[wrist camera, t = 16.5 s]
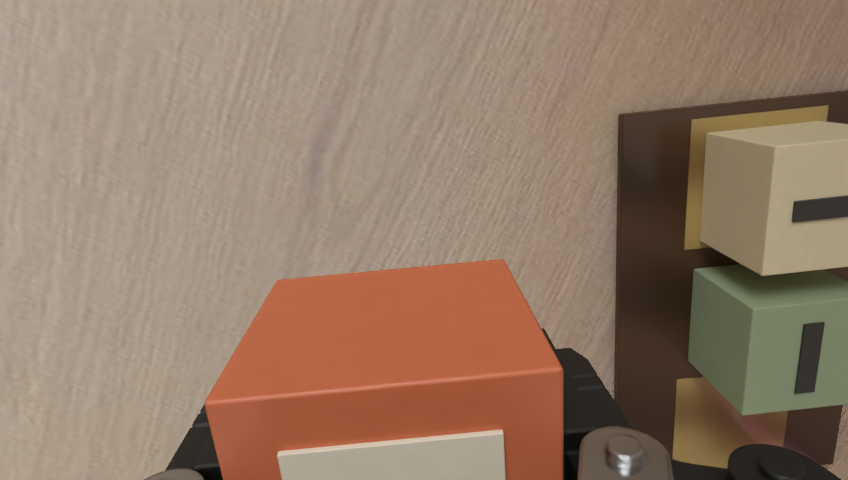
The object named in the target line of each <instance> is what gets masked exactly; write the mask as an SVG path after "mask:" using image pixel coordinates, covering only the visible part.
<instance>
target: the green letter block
mask: <svg viewBox="0 0 848 480" xmlns="http://www.w3.org/2000/svg"><path fill="white" fill-rule="evenodd" d="M688 361H689V362H690V363H691V364H692V365H693V366H694V367H695V368H696V369H697V370H698V371H699V372H700V373H701V374H702V375H703V376H704V377H705V378H706V379H707V380H708V381H709V382H710V383H711V384H712V385H713V387H714V388H715V389H716V390H717V391H718V392H719V393H720V394H721V395H722V396H723V397H724V398H725V399H726V400H727V401H728V402H729V403H730V404H731V405H732V406H733V407H734V408H735V409H736V410H737V411H738V412H739V413H740V414H741V415H743V416H745V415H754V414H763V413H772V412H781V411H790V410H800V409H809V408H818V407H827V406H836V405H845V404H848V282H847V281H845V280H843V279H841V278H839V277H837V276H835V275H832V274H830V273H828V272H826V271H824V270H813V271H804V272H795V273H786V274H777V275H768V276H761V275H759V274H758V273H756V272H754V271H752V270H751V269H749V268H747V267H745V266H743V265H742V264H735V265H726V266H716V267H707V268H698V269H694V271H693V287H692V303H691V319H690V335H689V351H688Z"/></svg>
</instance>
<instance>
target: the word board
mask: <svg viewBox="0 0 848 480" xmlns="http://www.w3.org/2000/svg"><path fill="white" fill-rule="evenodd" d="M812 121H825V122H833V123H842V124H848V90H846V91H836V92H826V93H817V94H807V95H798V96H788V97H778V98H769V99H759V100H750V101H740V102H730V103H721V104H711V105H702V106H692V107H682V108H673V109H663V110H654V111H644V112H634V113H625V114H619V130H618V197H617V264H616V331H615V398H614V401H615V403H616V404H617V406H618V407H619V409H620V411H621V412H622V414H623V415H624V417H625V418H626V420H627V421H628V423H629V425H630V426H631V428H632V429H635V430H638V431H641V432H643V433H646V434H648V435H649V436H651V437H653V438H654V439H656V440H657V441H658V442H660V443H661V444H662V445H663V446H664V448H665V449H666V450H667V452H668V454H669V456H670V458H671V459H674V460H677V461H681V462H685V463H691V464H698V465H705V466H712V467H720V468H727V465H728V459H729V456H730V454H731V453H732V452H733V451H734V450H735V449H737V448H739V447H741V446H744V445H749V444H768V445H775V446H779V447H783V448H787V449H790V450H793V451H795V452H798V453H800V454H802V455H804V456H806V457H808V458H810V459H812V460H813V461H815V462H816V463H818V464H819V465H826V464H833V459H834V453H835V448H836V442H837V436H838V430H839V424H840V418H841V412H842V406H843V405H836V406H827V407H818V408H809V409H800V410H790V411H781V412H772V413H763V414H754V415H745V416H743V415H741V414H740V413H739V412H738V411H737V410H736V409H735V408H734V407H733V406H732V405H731V404H730V403H729V402H728V401H727V400H726V399H725V398H724V397H723V396H722V395H721V394H720V393H719V392H718V391H717V390H716V389H715V388H714V387H713V385H712V384H711V383H710V382H709V381H708V380H707V379H706V378H705V377H704V376H703V375H702V374H701V373H700V372H699V371H698V370H697V369H696V368H695V367H694V366H693V365H692V364H691V363H690V362H689V361H688V351H689V335H690V319H691V303H692V287H693V271H694V269H698V268H707V267H716V266H726V265H735V264H740V263H738V262H736V261H735V260H733V259H731V258H729V257H728V256H726V255H724V254H722V253H720V252H719V251H717V250H715V249H713V248H712V247H710V246H708V245H706V244H705V243H703V242H701V241H700V228H701V213H702V197H703V181H704V165H705V149H706V134H707V133H710V132H719V131H729V130H738V129H747V128H757V127H766V126H775V125H784V124H794V123H803V122H812ZM823 270H824V271H826V272H828V273H830V274H832V275H835V276H837V277H839V278H841V279H843V280H845V281H847V282H848V267H841V268H832V269H823Z"/></svg>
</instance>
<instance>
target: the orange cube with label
mask: <svg viewBox="0 0 848 480" xmlns="http://www.w3.org/2000/svg"><path fill="white" fill-rule="evenodd" d="M205 409H206V413H207V417H208V421H209V425H210V429H211V433H212V437H213V441H214V445H215V449H216V453H217V457H218V461H219V465H220V469H221V474H222V478H223V480H564V397H563V368H562V366H561V364H560V362H559V360H558V359H557V357H556V355H555V353H554V351H553V349H552V348H551V346H550V344H549V342H548V340H547V338H546V336H545V335H544V333H543V331H542V329H541V327H540V325H539V323H538V322H537V320H536V318H535V316H534V314H533V312H532V311H531V309H530V307H529V305H528V303H527V301H526V299H525V298H524V296H523V294H522V292H521V290H520V288H519V287H518V285H517V283H516V281H515V279H514V277H513V275H512V274H511V272H510V270H509V268H508V266H507V264H506V263H505V261H504V260H503V259H499V260H488V261H477V262H466V263H456V264H445V265H434V266H423V267H413V268H402V269H391V270H380V271H370V272H359V273H348V274H337V275H327V276H316V277H305V278H295V279H284V280H278V281H276V283H275V285H274V286H273V288H272V290H271V291H270V293H269V295H268V297H267V298H266V300H265V302H264V303H263V305H262V307H261V308H260V310H259V312H258V313H257V315H256V317H255V318H254V320H253V322H252V323H251V325H250V327H249V328H248V330H247V332H246V333H245V335H244V337H243V338H242V340H241V342H240V343H239V345H238V347H237V348H236V350H235V352H234V353H233V355H232V357H231V359H230V360H229V362H228V364H227V365H226V367H225V369H224V370H223V372H222V374H221V375H220V377H219V379H218V380H217V382H216V384H215V385H214V387H213V389H212V390H211V392H210V394H209V395H208V397H207V399H206V400H205Z"/></svg>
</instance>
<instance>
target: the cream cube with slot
mask: <svg viewBox="0 0 848 480" xmlns="http://www.w3.org/2000/svg"><path fill="white" fill-rule="evenodd" d="M700 241H701V242H703V243H705V244H706V245H708V246H710V247H712V248H713V249H715V250H717V251H719V252H720V253H722V254H724V255H726V256H728V257H729V258H731V259H733V260H735V261H736V262H738V263H740V264H742V265H743V266H745V267H747V268H749V269H751V270H752V271H754V272H756V273H758V274H759V275H761V276H768V275H777V274H786V273H795V272H804V271H813V270H823V269H832V268H841V267H848V124H842V123H833V122H825V121H812V122H803V123H794V124H784V125H775V126H766V127H757V128H747V129H738V130H729V131H719V132H710V133H707V134H706V149H705V165H704V181H703V197H702V213H701V228H700Z"/></svg>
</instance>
